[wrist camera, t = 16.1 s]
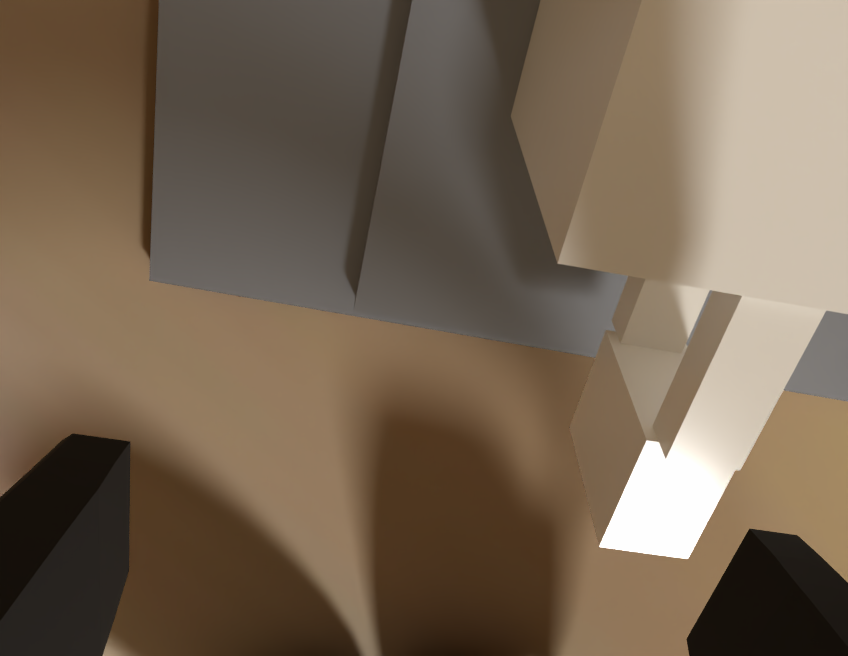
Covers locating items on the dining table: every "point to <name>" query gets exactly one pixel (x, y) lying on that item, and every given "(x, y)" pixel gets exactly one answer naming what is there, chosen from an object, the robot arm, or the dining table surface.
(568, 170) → the beige upright block
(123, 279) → the dining table surface
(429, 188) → the board
